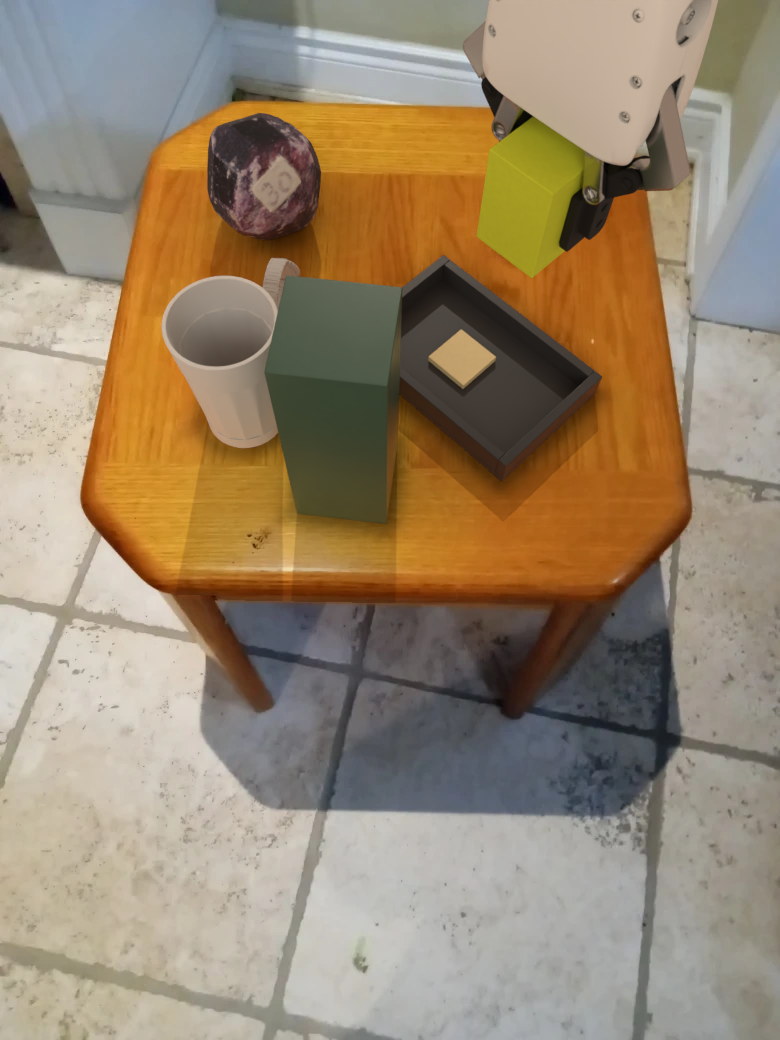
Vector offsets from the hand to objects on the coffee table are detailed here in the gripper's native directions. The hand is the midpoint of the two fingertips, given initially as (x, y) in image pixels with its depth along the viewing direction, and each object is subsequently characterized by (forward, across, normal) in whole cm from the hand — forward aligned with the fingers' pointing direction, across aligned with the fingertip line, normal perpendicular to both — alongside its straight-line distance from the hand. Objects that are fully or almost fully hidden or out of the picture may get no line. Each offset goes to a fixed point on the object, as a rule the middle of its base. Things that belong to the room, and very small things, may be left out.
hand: (545, 210), depth 49 cm
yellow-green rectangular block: (+1, 0, 0) cm, 1 cm away
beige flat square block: (+20, +4, 0) cm, 20 cm away
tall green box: (+21, +3, +14) cm, 25 cm away
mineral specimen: (+21, +28, 0) cm, 35 cm away
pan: (+21, +3, 0) cm, 21 cm away
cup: (+21, +13, +16) cm, 29 cm away
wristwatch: (+21, +19, +7) cm, 29 cm away
